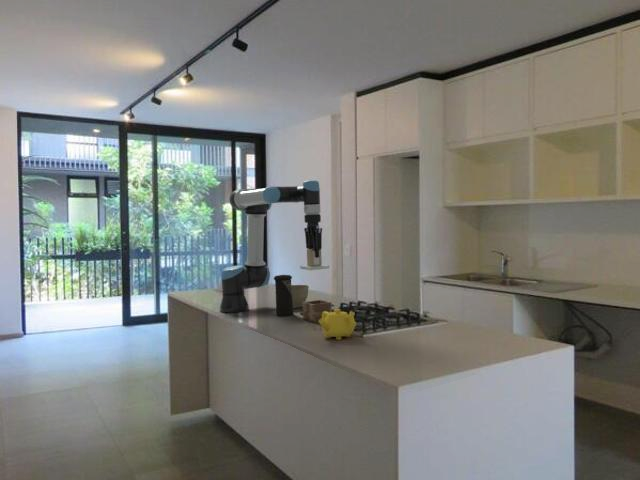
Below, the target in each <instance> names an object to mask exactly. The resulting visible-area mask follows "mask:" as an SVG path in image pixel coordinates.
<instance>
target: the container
mask: <svg viewBox="0 0 640 480" xmlns="http://www.w3.org/2000/svg"><path fill="white" fill-rule="evenodd" d="M292 279H293V276H292V275H290V274H279V275H275V276H273V280H274V283H275V284H274V285H275V308H276V309H275V310H276V311H275V315H276V316H277V317H289V316H292V315H294V308H293V301H292V287H291V285H292Z"/></svg>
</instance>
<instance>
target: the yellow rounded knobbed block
mask: <svg viewBox="0 0 640 480" xmlns="http://www.w3.org/2000/svg"><path fill="white" fill-rule="evenodd" d="M355 314H356V313H355V311H352V310H351V311H350V312H349V314H348V312H346V311H341V308H334V309H333V311H332V312H330V313H329V312H327V311H324V312H323V313H322V318H321V319H320V320H319V321H318V323H319V324H320V325H321V331H322V332H323V334H324V335H325V336H326V339H331V338H332V337H333V338H335V340H337V341H340V340H342V337H345V338H351V337H352V336H351V335H352V333H353V332H354V330H355V327H357V323H356V321H355V317H354V316H355Z"/></svg>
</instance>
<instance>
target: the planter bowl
mask: <svg viewBox="0 0 640 480" xmlns="http://www.w3.org/2000/svg"><path fill="white" fill-rule="evenodd" d="M291 287H292V301H293V309H296V308H297V309H298V308H303V305H302V302H307V299H308V296H309V285H308V284H293V285H292V284H291Z"/></svg>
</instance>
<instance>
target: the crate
mask: <svg viewBox="0 0 640 480" xmlns="http://www.w3.org/2000/svg"><path fill="white" fill-rule="evenodd" d="M302 305H303V307H302V319H303V320H305V321H308V322H311V323H317V322H318V323H319V320H320V319H321V318H322V313H323V312H324V311H327V312H329V313H330V312H333V309H332V302H331V301H327V300H324V299H316V300H311V301H310V300H309V301H305V302H302Z"/></svg>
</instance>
